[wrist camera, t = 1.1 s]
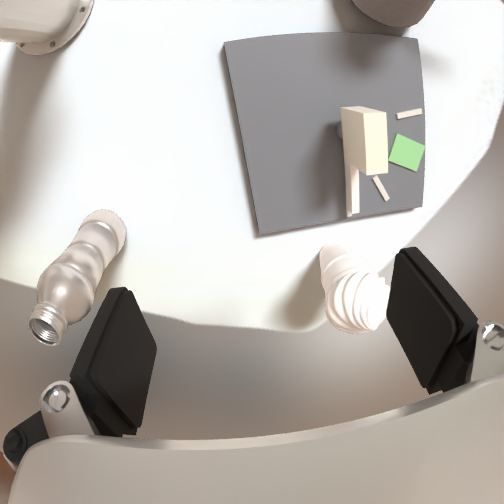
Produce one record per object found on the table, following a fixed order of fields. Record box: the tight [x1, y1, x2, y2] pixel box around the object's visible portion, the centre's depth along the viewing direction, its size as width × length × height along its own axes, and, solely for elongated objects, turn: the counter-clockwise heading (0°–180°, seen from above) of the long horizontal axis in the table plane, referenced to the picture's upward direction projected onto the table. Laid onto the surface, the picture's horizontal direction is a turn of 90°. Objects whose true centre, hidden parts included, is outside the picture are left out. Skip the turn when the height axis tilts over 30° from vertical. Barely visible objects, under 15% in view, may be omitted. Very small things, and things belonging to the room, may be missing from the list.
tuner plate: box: [224, 32, 425, 235], centre depth 32 cm, size 24×24×2 cm
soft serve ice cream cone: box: [319, 241, 390, 334], centre depth 36 cm, size 8×8×16 cm
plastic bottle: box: [28, 209, 126, 346], centre depth 29 cm, size 6×7×20 cm
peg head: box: [336, 106, 388, 214], centre depth 30 cm, size 13×2×8 cm, turn 10°
